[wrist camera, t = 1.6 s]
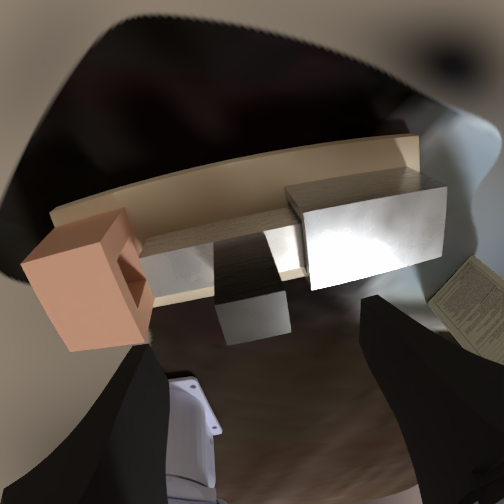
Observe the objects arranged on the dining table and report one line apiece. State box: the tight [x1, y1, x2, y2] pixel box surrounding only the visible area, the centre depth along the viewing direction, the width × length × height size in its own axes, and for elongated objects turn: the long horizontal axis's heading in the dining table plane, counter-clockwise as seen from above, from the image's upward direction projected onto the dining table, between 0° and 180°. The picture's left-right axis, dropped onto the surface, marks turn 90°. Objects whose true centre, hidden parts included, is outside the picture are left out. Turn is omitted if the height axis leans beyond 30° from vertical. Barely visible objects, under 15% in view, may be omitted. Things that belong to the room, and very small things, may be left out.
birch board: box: [50, 133, 420, 307], centre depth 19 cm, size 8×23×1 cm, turn 100°
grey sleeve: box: [284, 167, 447, 290], centre depth 17 cm, size 4×8×4 cm, turn 100°
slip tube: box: [138, 206, 307, 346], centre depth 15 cm, size 2×15×7 cm, turn 100°
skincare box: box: [427, 255, 504, 365], centre depth 19 cm, size 6×4×12 cm
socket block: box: [21, 207, 155, 352], centre depth 17 cm, size 6×5×5 cm
